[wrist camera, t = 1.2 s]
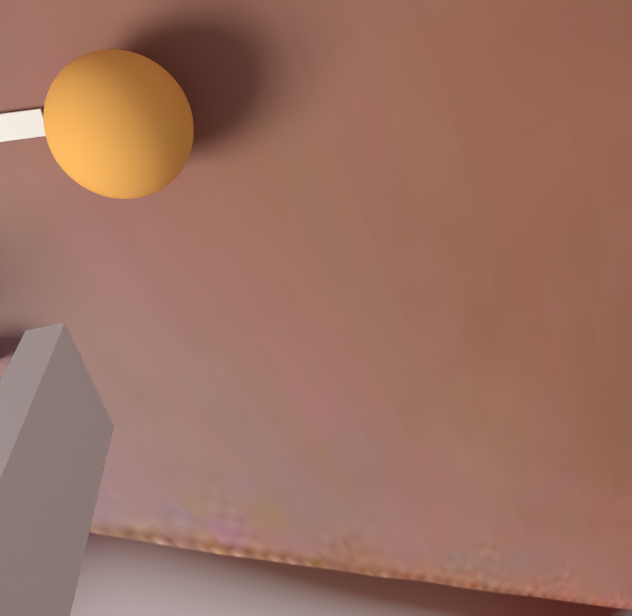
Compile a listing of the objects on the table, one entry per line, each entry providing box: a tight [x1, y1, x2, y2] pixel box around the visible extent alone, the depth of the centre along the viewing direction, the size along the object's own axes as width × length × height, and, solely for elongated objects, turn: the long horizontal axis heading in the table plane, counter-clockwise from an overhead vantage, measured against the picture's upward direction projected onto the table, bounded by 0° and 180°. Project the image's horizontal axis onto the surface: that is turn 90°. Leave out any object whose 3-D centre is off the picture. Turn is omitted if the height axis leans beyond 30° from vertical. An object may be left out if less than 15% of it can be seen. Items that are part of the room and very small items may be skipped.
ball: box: [43, 49, 194, 199], centre depth 26 cm, size 6×6×6 cm
